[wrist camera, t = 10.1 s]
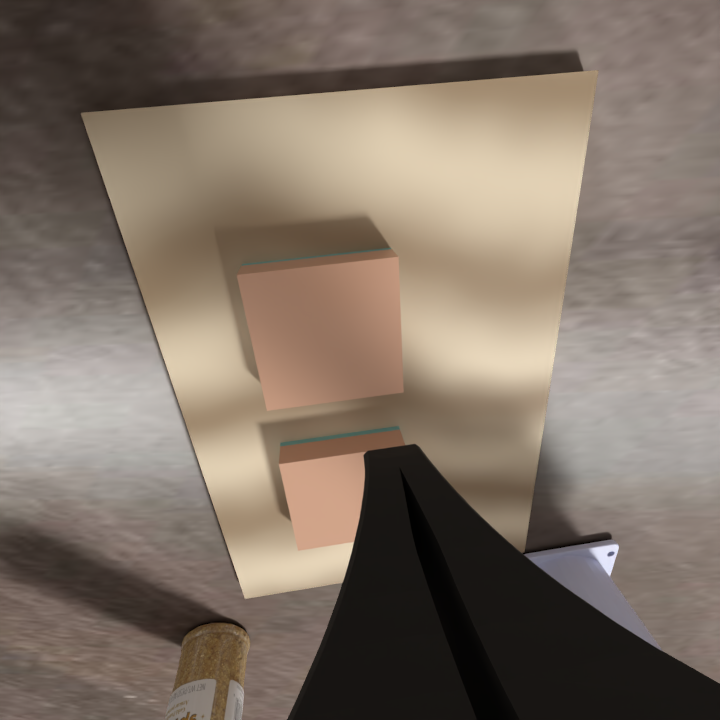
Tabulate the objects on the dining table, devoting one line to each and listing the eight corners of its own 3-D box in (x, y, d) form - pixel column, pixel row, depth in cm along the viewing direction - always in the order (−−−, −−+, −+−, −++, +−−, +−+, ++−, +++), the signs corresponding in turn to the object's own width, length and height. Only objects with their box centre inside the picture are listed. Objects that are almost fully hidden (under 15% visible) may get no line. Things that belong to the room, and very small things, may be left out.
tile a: (408, 533, 23) (298, 550, 22) (402, 510, 24) (298, 526, 24) (405, 445, 20) (278, 464, 19) (398, 425, 21) (280, 442, 21)
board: (518, 541, 28) (524, 552, 27) (246, 586, 26) (245, 598, 26) (585, 73, 16) (598, 70, 15) (91, 114, 14) (80, 112, 14)
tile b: (403, 392, 18) (266, 411, 18) (396, 374, 20) (269, 391, 19) (398, 256, 16) (236, 274, 15) (390, 247, 17) (242, 264, 17)
